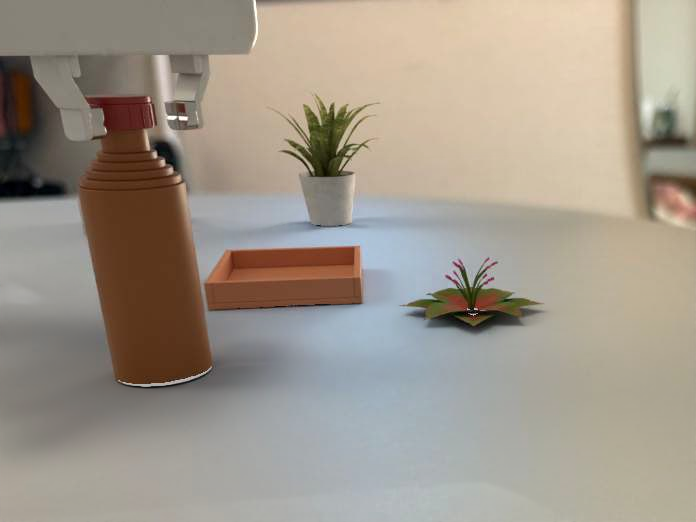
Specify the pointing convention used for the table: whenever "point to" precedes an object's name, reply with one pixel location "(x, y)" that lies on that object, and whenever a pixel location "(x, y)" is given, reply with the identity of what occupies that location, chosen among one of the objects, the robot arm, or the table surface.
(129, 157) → the bottle
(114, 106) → the cap
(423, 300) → the flowering rosette plant
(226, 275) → the tray
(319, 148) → the house plant
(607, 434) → the table surface
